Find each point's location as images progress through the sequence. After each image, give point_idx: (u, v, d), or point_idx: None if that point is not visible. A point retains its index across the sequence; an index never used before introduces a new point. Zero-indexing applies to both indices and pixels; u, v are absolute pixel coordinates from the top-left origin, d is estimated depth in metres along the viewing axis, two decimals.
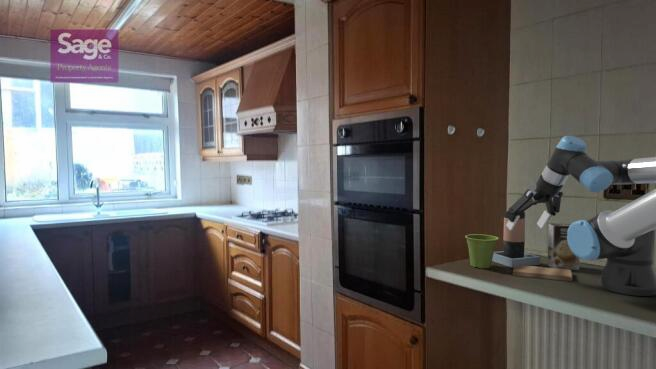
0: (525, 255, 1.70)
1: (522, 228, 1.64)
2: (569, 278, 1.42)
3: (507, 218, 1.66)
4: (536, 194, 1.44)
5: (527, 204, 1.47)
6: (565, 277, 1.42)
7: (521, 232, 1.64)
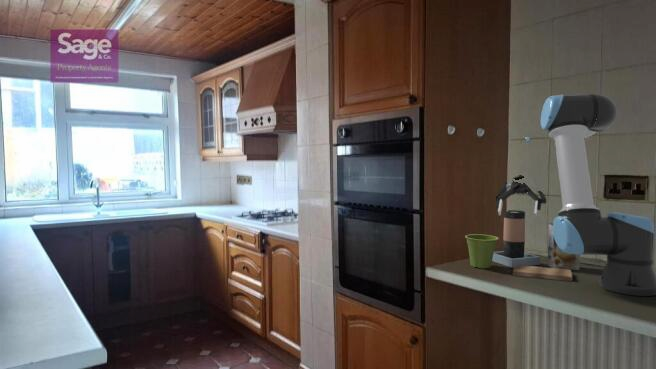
0: (525, 255, 1.70)
1: (522, 228, 1.64)
2: (569, 278, 1.42)
3: (507, 218, 1.66)
4: (511, 184, 1.85)
5: None
6: (565, 277, 1.42)
7: (521, 232, 1.64)
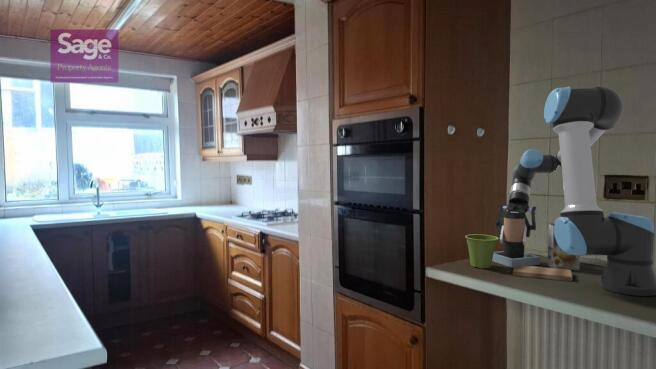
0: (525, 255, 1.70)
1: (522, 228, 1.64)
2: (569, 278, 1.42)
3: (507, 218, 1.66)
4: None
5: None
6: (565, 277, 1.42)
7: (521, 232, 1.64)
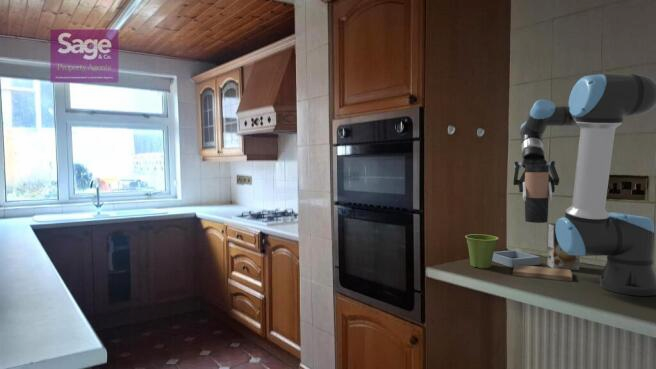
0: (525, 255, 1.70)
1: (547, 182, 1.49)
2: (569, 278, 1.42)
3: (531, 172, 1.50)
4: (522, 162, 1.61)
5: None
6: (565, 277, 1.42)
7: (546, 187, 1.49)
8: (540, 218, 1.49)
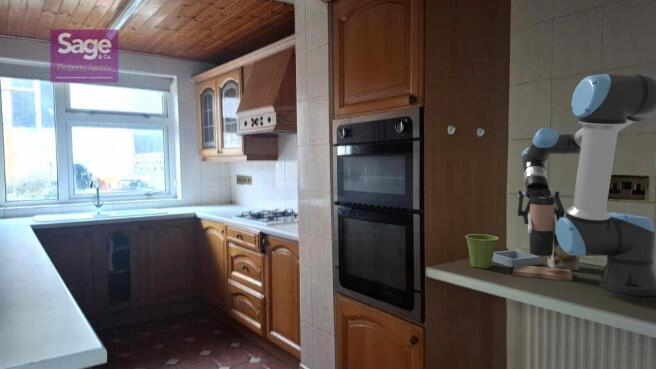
0: (525, 255, 1.70)
1: (553, 215, 1.47)
2: (569, 278, 1.42)
3: (537, 204, 1.47)
4: (526, 191, 1.58)
5: (528, 203, 1.55)
6: (565, 277, 1.42)
7: (552, 220, 1.47)
8: (546, 251, 1.47)
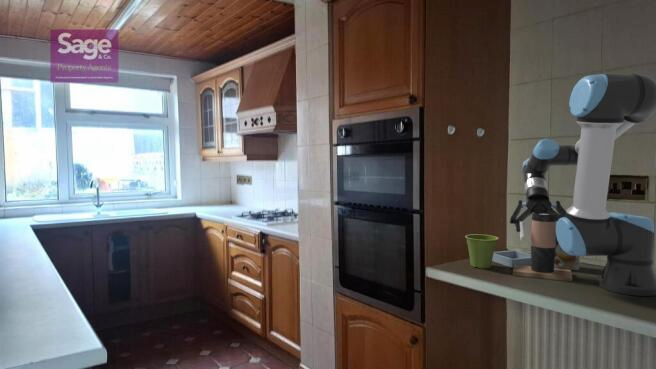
0: (525, 255, 1.70)
1: (555, 232, 1.46)
2: (569, 278, 1.42)
3: (539, 221, 1.46)
4: (526, 202, 1.58)
5: None
6: (565, 277, 1.42)
7: (554, 237, 1.46)
8: (548, 268, 1.46)
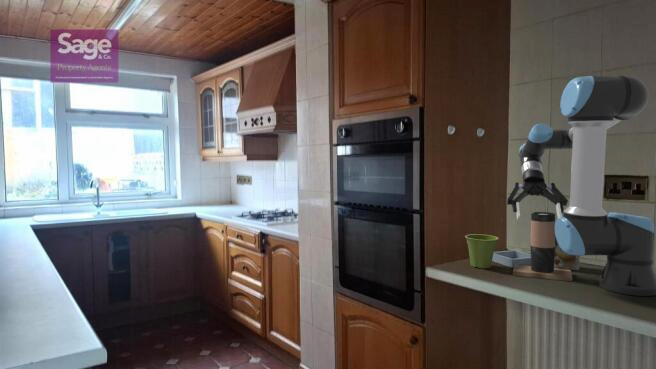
0: (525, 255, 1.70)
1: (554, 232, 1.46)
2: (569, 278, 1.42)
3: (538, 221, 1.46)
4: (523, 184, 1.65)
5: None
6: (565, 277, 1.42)
7: (553, 236, 1.46)
8: (547, 268, 1.46)
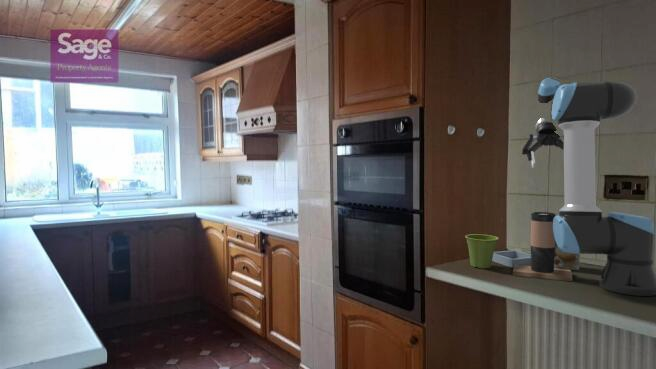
0: (525, 255, 1.70)
1: None
2: (569, 278, 1.42)
3: (538, 221, 1.47)
4: (537, 136, 1.73)
5: None
6: (565, 277, 1.42)
7: (553, 236, 1.46)
8: (547, 268, 1.46)
